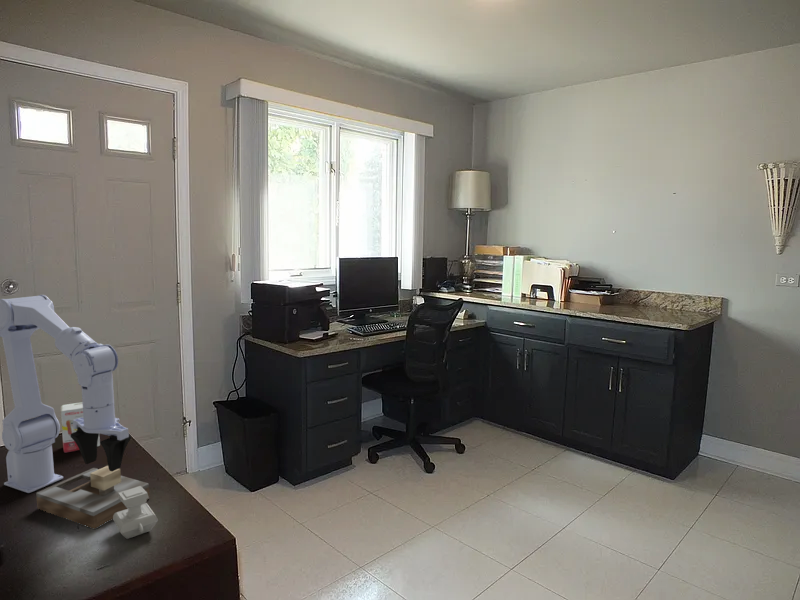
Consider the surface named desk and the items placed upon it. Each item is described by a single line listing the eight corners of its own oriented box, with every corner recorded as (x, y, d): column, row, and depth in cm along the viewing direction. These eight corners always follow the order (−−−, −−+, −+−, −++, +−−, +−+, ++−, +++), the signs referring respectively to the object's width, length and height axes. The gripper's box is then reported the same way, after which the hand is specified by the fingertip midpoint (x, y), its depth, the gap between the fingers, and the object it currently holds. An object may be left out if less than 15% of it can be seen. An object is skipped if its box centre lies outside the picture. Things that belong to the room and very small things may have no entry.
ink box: (63, 453, 137) (60, 410, 135) (63, 446, 141) (59, 405, 139) (100, 446, 142) (97, 404, 140) (99, 440, 146) (96, 399, 144)
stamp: (161, 535, 101) (158, 494, 100) (123, 548, 97) (121, 506, 95) (147, 516, 108) (145, 478, 107) (111, 527, 103) (109, 488, 102)
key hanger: (89, 505, 110) (87, 473, 109) (110, 495, 114) (108, 464, 113) (104, 510, 108) (102, 478, 107) (125, 500, 112) (123, 468, 111)
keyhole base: (37, 508, 110) (36, 492, 109) (94, 482, 122) (93, 467, 121) (94, 529, 103) (93, 512, 102) (149, 498, 114) (148, 483, 114)
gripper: (139, 403, 108) (143, 464, 110) (93, 393, 114) (97, 452, 116) (109, 414, 102) (113, 478, 104) (61, 403, 108) (66, 464, 110)
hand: (102, 465), depth 109 cm, fingers open, 7 cm apart
